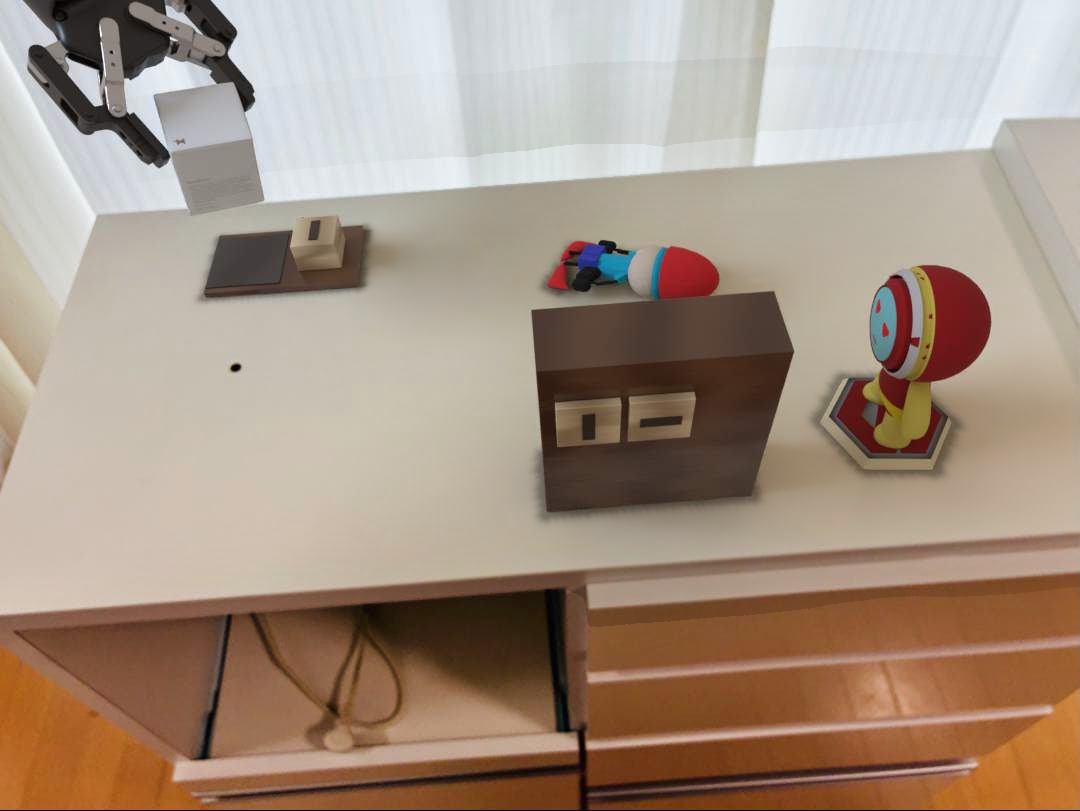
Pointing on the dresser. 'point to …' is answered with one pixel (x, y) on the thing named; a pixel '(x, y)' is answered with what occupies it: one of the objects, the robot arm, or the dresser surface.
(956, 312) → the figurine
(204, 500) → the dresser surface
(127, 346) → the dresser surface
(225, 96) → the product box
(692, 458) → the dark wooden block
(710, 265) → the toy figure
